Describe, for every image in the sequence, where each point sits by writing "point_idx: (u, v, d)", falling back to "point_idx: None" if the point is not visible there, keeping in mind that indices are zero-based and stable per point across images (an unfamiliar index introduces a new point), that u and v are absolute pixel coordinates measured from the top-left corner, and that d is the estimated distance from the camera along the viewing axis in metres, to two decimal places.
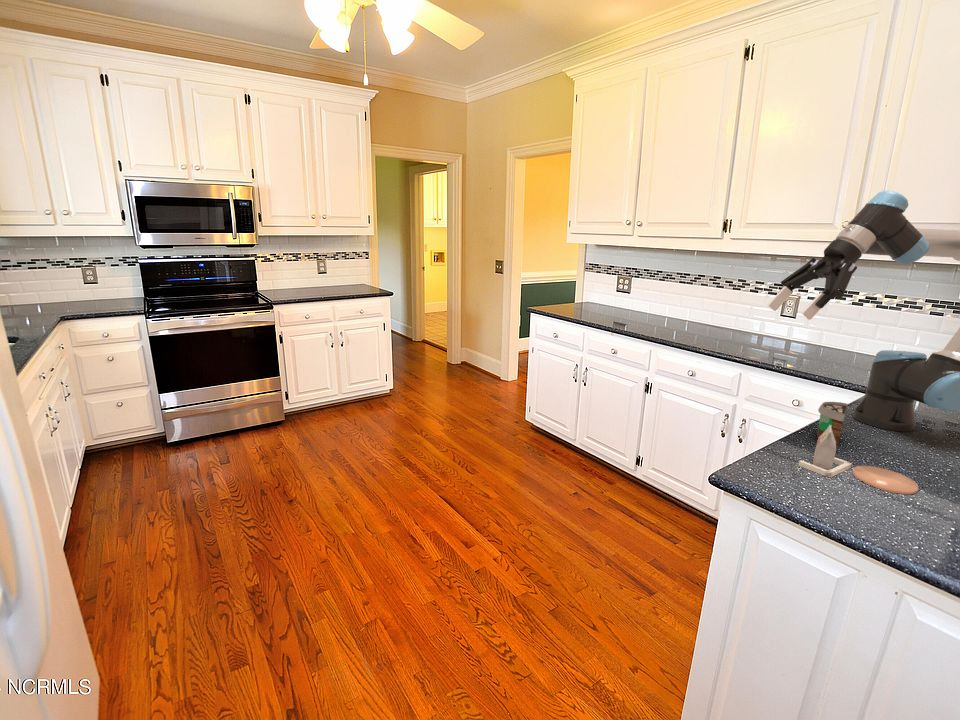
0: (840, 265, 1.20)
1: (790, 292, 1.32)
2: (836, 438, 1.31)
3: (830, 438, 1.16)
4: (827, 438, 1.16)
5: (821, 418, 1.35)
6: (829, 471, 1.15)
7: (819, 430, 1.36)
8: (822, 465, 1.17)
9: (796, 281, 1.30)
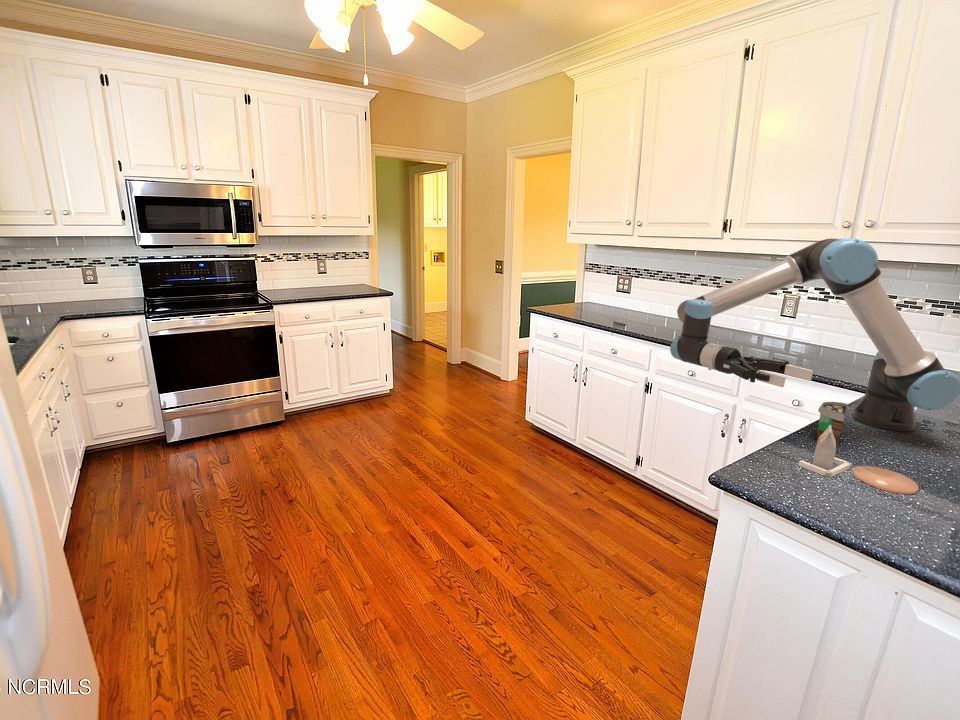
0: None
1: (787, 366, 1.31)
2: (836, 438, 1.31)
3: (830, 438, 1.16)
4: (827, 438, 1.16)
5: (821, 418, 1.35)
6: (829, 471, 1.15)
7: (819, 430, 1.36)
8: (822, 465, 1.17)
9: (773, 369, 1.33)
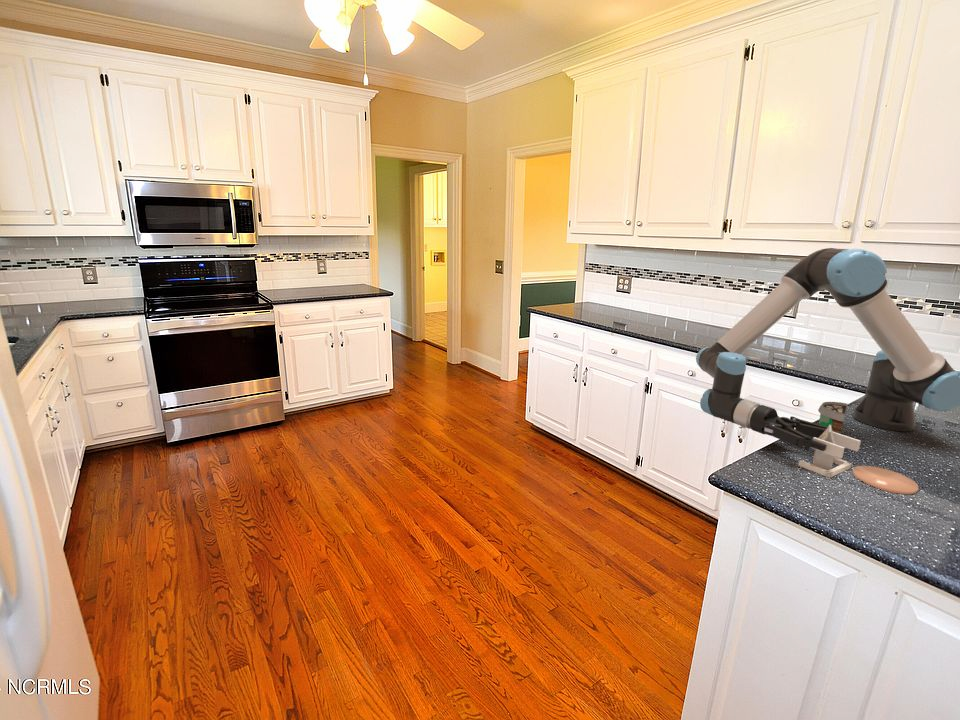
0: None
1: None
2: None
3: (830, 438, 1.16)
4: (827, 438, 1.16)
5: (821, 418, 1.35)
6: (829, 471, 1.15)
7: None
8: (822, 465, 1.17)
9: (814, 434, 1.24)
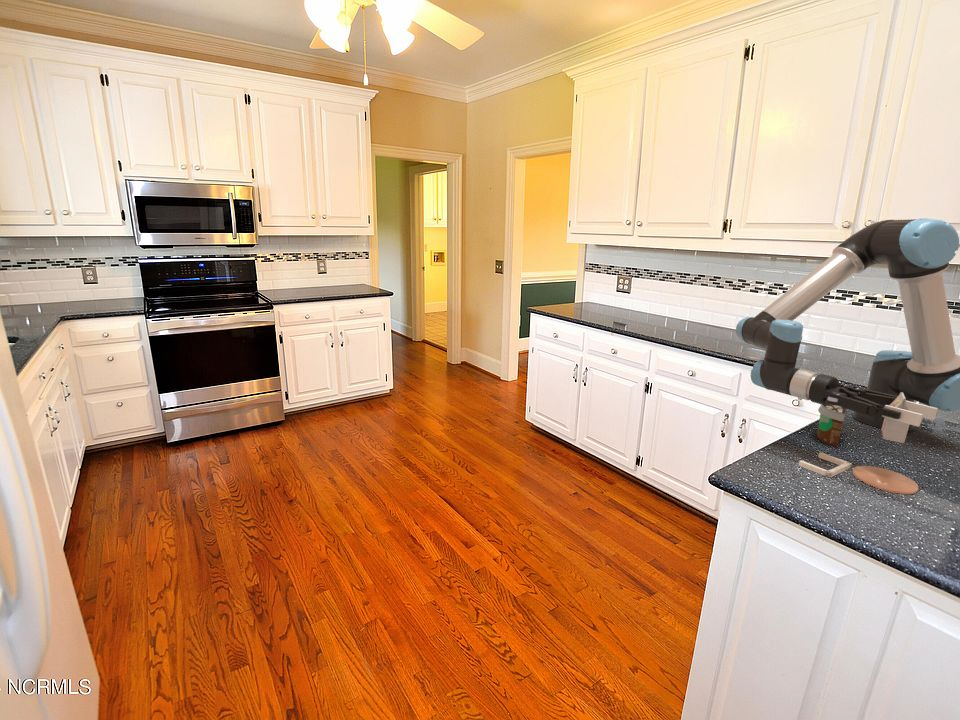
0: None
1: None
2: (836, 438, 1.31)
3: (904, 405, 1.06)
4: (901, 405, 1.07)
5: (821, 418, 1.35)
6: (829, 471, 1.15)
7: (819, 430, 1.36)
8: (895, 435, 1.08)
9: (882, 404, 1.15)
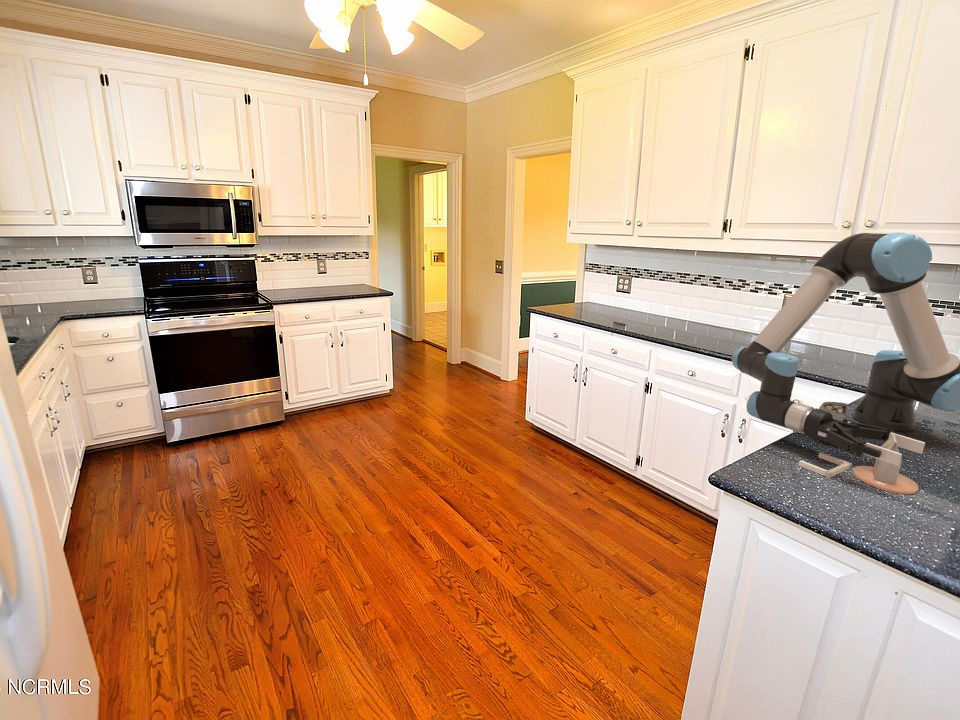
0: None
1: None
2: None
3: (895, 448, 1.09)
4: (892, 448, 1.09)
5: None
6: (829, 471, 1.15)
7: None
8: (886, 477, 1.11)
9: (874, 437, 1.19)
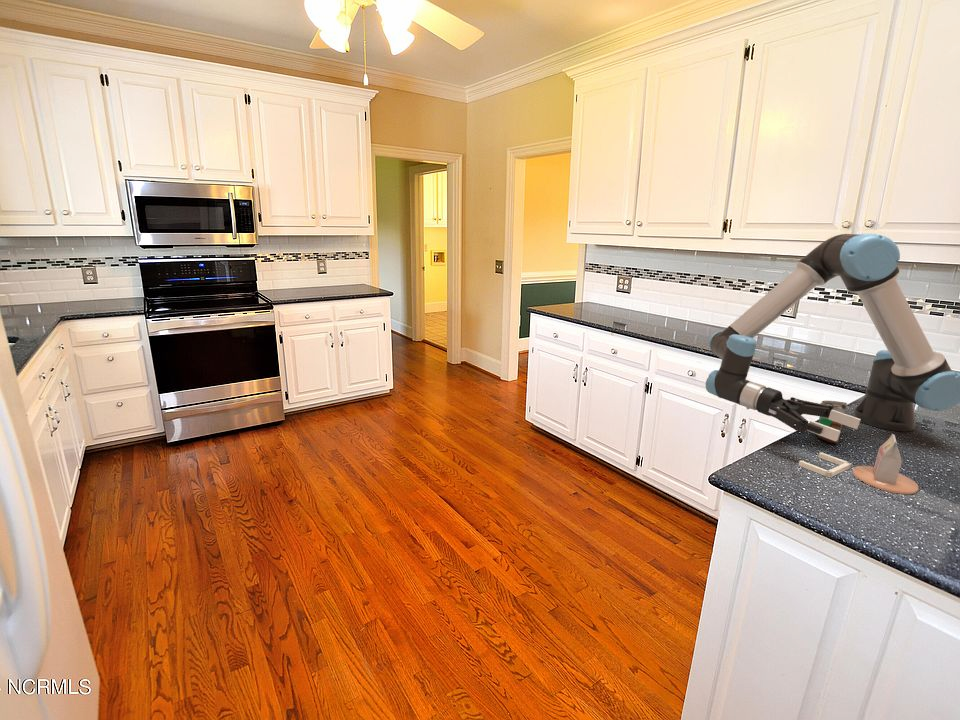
0: None
1: (832, 412, 1.28)
2: None
3: (895, 448, 1.09)
4: (892, 448, 1.09)
5: None
6: (829, 471, 1.15)
7: None
8: (886, 477, 1.11)
9: (817, 414, 1.30)
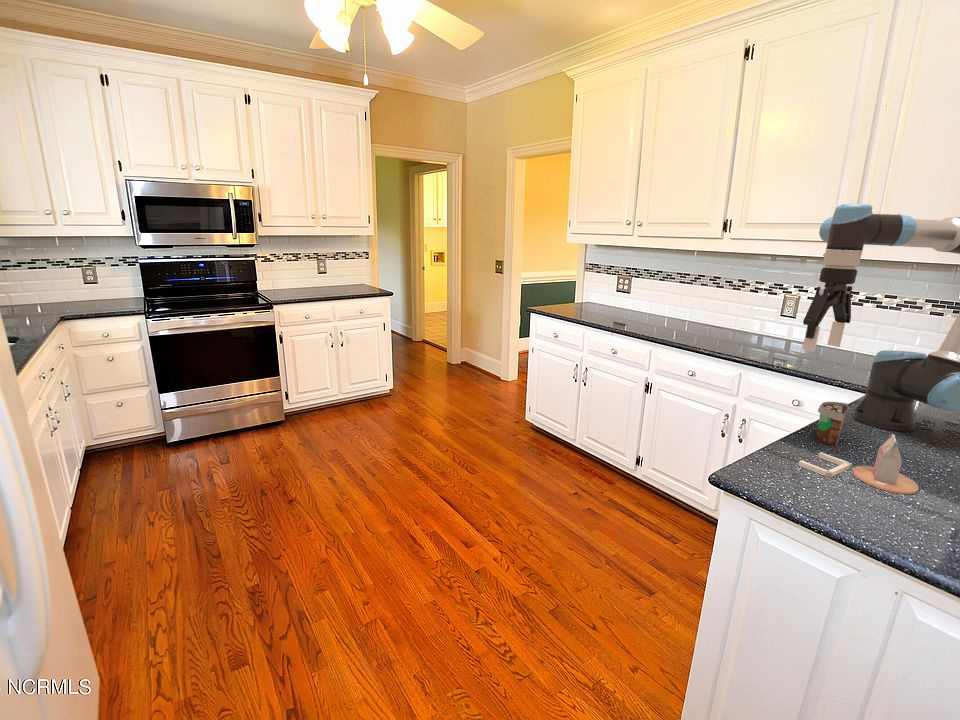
0: None
1: (841, 324, 1.29)
2: (835, 438, 1.31)
3: (895, 448, 1.09)
4: (892, 448, 1.09)
5: (820, 418, 1.35)
6: (829, 471, 1.15)
7: (818, 430, 1.36)
8: (886, 477, 1.11)
9: (835, 313, 1.29)
